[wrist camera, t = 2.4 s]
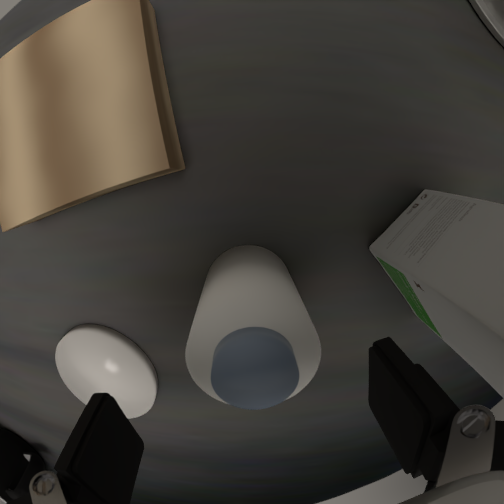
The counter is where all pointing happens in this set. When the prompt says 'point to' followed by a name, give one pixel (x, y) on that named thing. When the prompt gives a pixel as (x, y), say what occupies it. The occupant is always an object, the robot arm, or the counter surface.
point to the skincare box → (452, 273)
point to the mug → (16, 466)
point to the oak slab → (84, 111)
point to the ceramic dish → (107, 368)
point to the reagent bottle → (251, 332)
